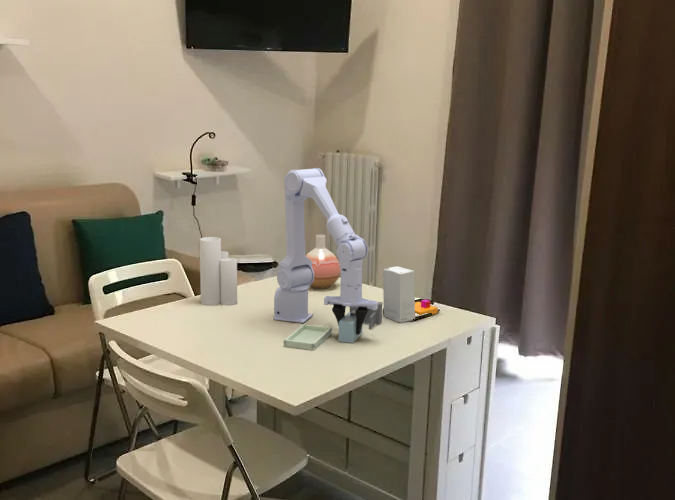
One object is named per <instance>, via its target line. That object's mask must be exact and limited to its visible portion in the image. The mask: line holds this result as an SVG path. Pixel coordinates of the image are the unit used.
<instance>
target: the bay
mask: <svg viewBox="0 0 675 500" xmlns="http://www.w3.org/2000/svg"><path fill="white" fill-rule="evenodd" d="M377 302H378V309H377V310H372V309H369V311H368V312H367V314H366V316H365V319H364V321H363V324H368V330H372V329H373V328H374V327H375V326H376V325H382V324H381V323H382V322H383V301H377ZM357 309H358V308H357V307H349V312H352V311H355V312H356V310H357Z"/></svg>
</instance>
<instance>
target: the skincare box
mask: <svg viewBox="0 0 675 500" xmlns="http://www.w3.org/2000/svg"><path fill="white" fill-rule="evenodd" d="M382 270H383V273H382V274H383V275H382V276H383V277H382V278H383V280H382V284H383V288H382V289H383V317H384V318H387V319H390V320H393V321H395V322H398V323H400V324H401V323H403V322H404V323H405V322H410V321H414V320H415V319H416V317H415V299H416V298H415V295H416V294H415V293H416V292H415V289H416V288H415V287H416V285H415V284H416V283H415V281H416V280H415V278H416V277H415V273H416V271H415V270H413V269H408V268H404V267H401V266H398V265H397V266H396V265H395V266H392V267H391V266H390V267H386V268H383V269H382ZM413 319H414V320H413Z"/></svg>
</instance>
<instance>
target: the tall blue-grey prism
mask: <svg viewBox="0 0 675 500" xmlns="http://www.w3.org/2000/svg"><path fill="white" fill-rule="evenodd" d="M363 324H364V323H363ZM363 324H362V328H361V333H360V334H359V335H357V334H356V312H355V311H352V312H350V311H349V312H347V313H345V316H344V317H343V318H342V319H341V320H340V321H339V326H338V339H337V340H338V342H341V343H350V344H354V343H355V341H357V339H359V337H360V336H361V335H362V334H363Z"/></svg>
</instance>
